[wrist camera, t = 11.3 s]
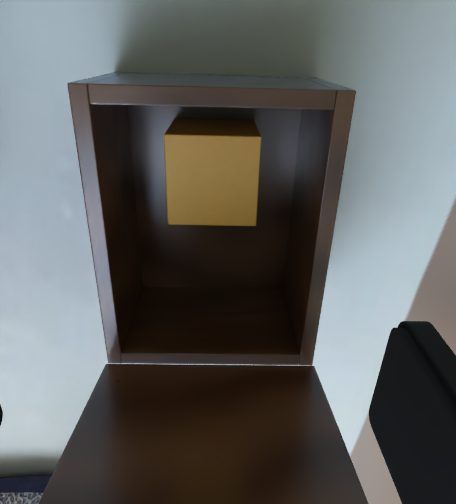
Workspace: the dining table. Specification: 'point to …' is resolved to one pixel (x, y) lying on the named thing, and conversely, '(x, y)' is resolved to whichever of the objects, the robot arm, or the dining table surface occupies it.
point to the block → (212, 172)
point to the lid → (205, 439)
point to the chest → (210, 236)
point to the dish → (22, 489)
